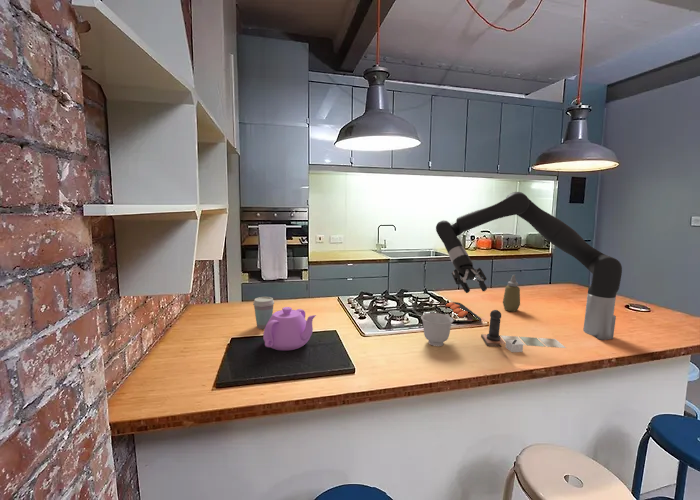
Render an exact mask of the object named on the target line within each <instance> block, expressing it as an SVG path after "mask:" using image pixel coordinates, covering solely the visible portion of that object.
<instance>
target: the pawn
mask: <svg viewBox="0 0 700 500" xmlns="http://www.w3.org/2000/svg"><path fill="white" fill-rule="evenodd" d="M489 316H490V318H489V329H488V333H487V334H486V335H487V339H489V340H491V341H500V337H501V336H500V330H501V329H500V327H501V318H502V313H501V311H500V310H498V309H493V310H492V311H490V313H489Z"/></svg>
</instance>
